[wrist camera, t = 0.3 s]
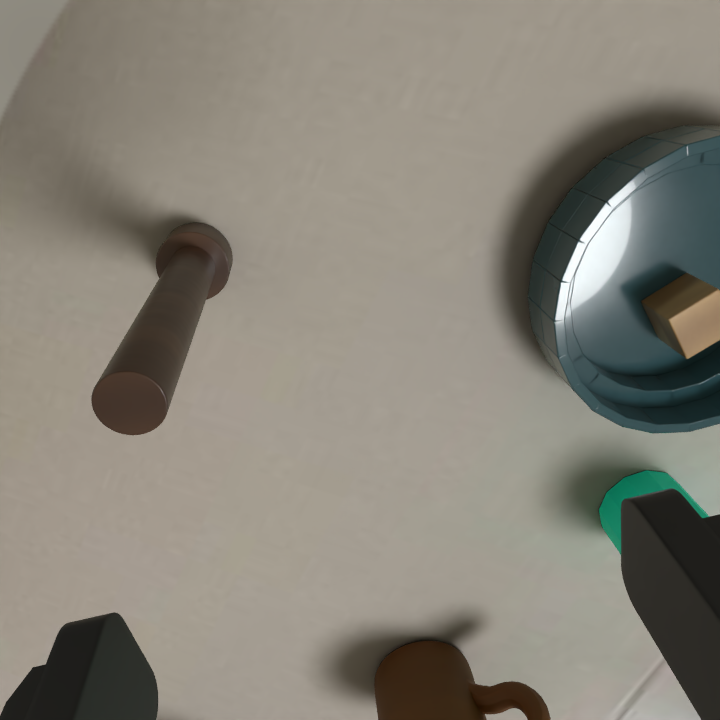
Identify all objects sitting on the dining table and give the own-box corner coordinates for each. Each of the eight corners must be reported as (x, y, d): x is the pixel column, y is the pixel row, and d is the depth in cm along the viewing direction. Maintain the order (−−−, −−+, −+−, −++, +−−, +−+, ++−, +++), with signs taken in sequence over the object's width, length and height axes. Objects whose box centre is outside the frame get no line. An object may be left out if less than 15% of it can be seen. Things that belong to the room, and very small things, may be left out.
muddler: (152, 232, 32) (44, 368, 18) (219, 214, 32) (165, 335, 18) (177, 296, 34) (97, 467, 19) (241, 278, 34) (208, 437, 19)
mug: (489, 592, 46) (535, 712, 37) (533, 649, 49) (585, 771, 40) (353, 667, 48) (367, 797, 39) (404, 717, 51) (428, 847, 42)
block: (639, 300, 36) (668, 319, 34) (686, 271, 36) (719, 288, 33) (658, 339, 37) (687, 360, 35) (704, 311, 37) (737, 330, 34)
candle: (698, 486, 44) (834, 625, 33) (646, 549, 46) (757, 699, 35) (633, 458, 42) (753, 594, 31) (581, 524, 44) (677, 673, 33)
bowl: (506, 170, 33) (537, 185, 29) (806, 88, 33) (880, 91, 29) (541, 423, 40) (570, 464, 36) (787, 357, 40) (844, 390, 36)
